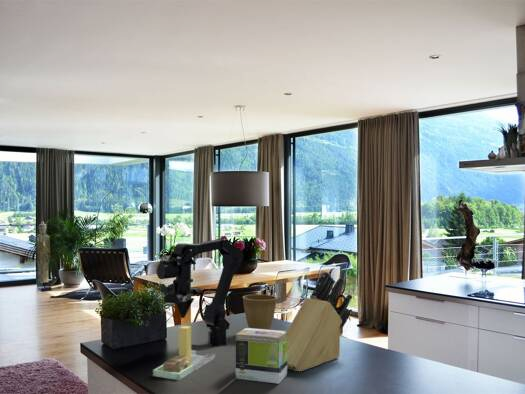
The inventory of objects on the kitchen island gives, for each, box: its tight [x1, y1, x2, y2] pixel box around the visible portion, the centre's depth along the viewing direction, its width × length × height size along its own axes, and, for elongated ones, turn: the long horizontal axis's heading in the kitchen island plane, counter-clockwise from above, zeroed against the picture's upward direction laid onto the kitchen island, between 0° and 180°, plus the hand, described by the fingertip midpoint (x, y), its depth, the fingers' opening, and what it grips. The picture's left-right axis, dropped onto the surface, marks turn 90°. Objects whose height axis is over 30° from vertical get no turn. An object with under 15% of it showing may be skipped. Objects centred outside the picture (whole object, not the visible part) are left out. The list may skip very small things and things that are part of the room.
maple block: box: [170, 355, 187, 372], centre depth 166 cm, size 4×4×4 cm
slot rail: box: [188, 349, 216, 372], centre depth 175 cm, size 16×10×3 cm, turn 159°
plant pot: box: [242, 294, 278, 330], centre depth 219 cm, size 15×15×16 cm
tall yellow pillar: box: [178, 325, 192, 367], centre depth 170 cm, size 4×5×13 cm
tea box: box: [235, 327, 288, 384], centre depth 164 cm, size 15×10×15 cm, turn 71°
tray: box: [152, 364, 194, 381], centre depth 163 cm, size 10×10×3 cm
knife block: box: [286, 271, 354, 373], centre depth 183 cm, size 11×35×31 cm, turn 137°
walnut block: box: [162, 358, 181, 373], centre depth 162 cm, size 4×4×4 cm
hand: (182, 317), depth 191 cm, fingers closed
